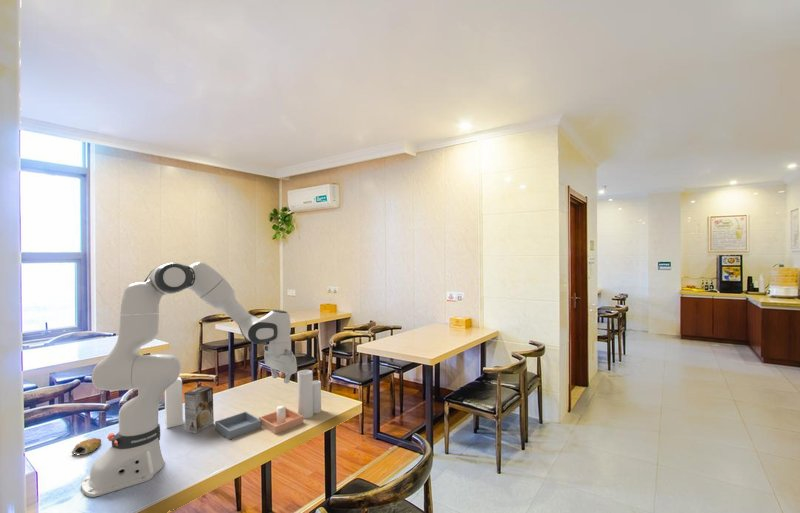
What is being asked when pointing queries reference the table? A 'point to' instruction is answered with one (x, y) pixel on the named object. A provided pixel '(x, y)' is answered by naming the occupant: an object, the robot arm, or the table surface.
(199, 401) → the coffee box
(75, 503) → the table surface
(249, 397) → the table surface
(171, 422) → the milk
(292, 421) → the salmon open tray
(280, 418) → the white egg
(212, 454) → the table surface
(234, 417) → the grey-blue open tray
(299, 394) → the white double cylinder vase
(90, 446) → the pastry
